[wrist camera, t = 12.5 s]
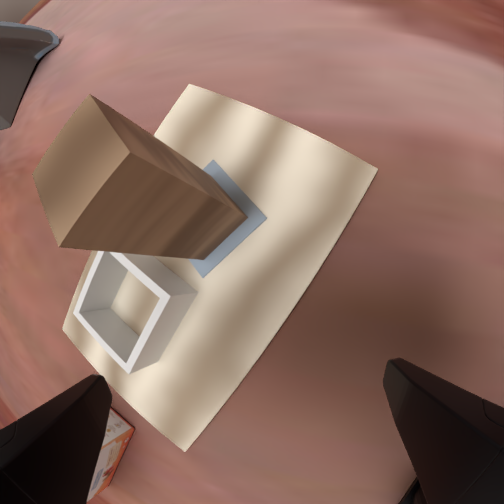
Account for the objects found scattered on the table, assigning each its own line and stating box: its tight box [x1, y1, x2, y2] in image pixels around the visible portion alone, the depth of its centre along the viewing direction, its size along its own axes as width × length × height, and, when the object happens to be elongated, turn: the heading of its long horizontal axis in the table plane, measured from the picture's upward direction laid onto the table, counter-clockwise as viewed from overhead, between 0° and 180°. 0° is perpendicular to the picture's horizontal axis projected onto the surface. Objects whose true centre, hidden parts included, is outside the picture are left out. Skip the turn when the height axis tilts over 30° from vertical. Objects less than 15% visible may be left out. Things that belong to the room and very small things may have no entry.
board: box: [62, 84, 378, 451], centre depth 23 cm, size 18×28×1 cm, turn 147°
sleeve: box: [73, 251, 199, 374], centre depth 21 cm, size 7×7×4 cm
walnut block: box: [32, 94, 248, 260], centre depth 16 cm, size 4×4×13 cm
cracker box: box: [87, 408, 134, 501], centre depth 15 cm, size 14×6×21 cm, turn 150°
